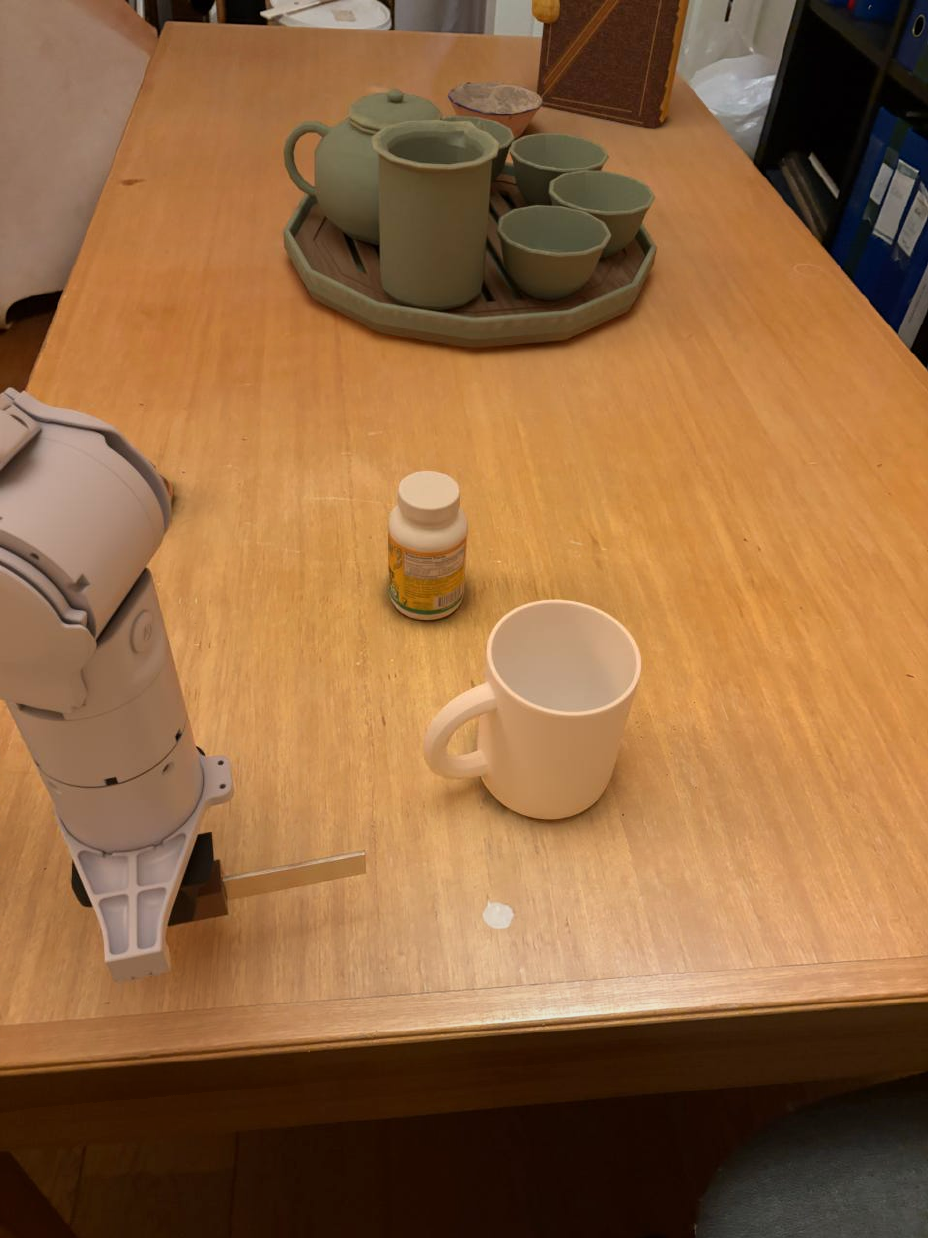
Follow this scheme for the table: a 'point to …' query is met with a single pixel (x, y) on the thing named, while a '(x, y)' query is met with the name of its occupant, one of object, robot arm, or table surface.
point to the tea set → (464, 227)
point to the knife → (272, 881)
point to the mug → (544, 709)
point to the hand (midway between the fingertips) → (170, 895)
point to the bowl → (497, 103)
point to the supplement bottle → (427, 546)
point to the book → (610, 57)
